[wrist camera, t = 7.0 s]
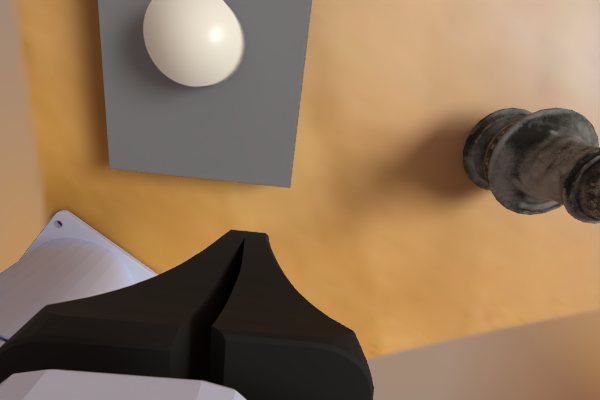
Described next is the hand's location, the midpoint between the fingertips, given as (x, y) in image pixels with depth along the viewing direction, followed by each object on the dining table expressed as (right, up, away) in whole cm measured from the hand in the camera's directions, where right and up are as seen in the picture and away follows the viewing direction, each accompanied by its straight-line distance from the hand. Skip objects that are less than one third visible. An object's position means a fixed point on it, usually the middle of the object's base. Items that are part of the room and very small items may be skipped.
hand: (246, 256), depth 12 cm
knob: (-3, +10, +6) cm, 12 cm away
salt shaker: (+15, +5, +10) cm, 19 cm away
